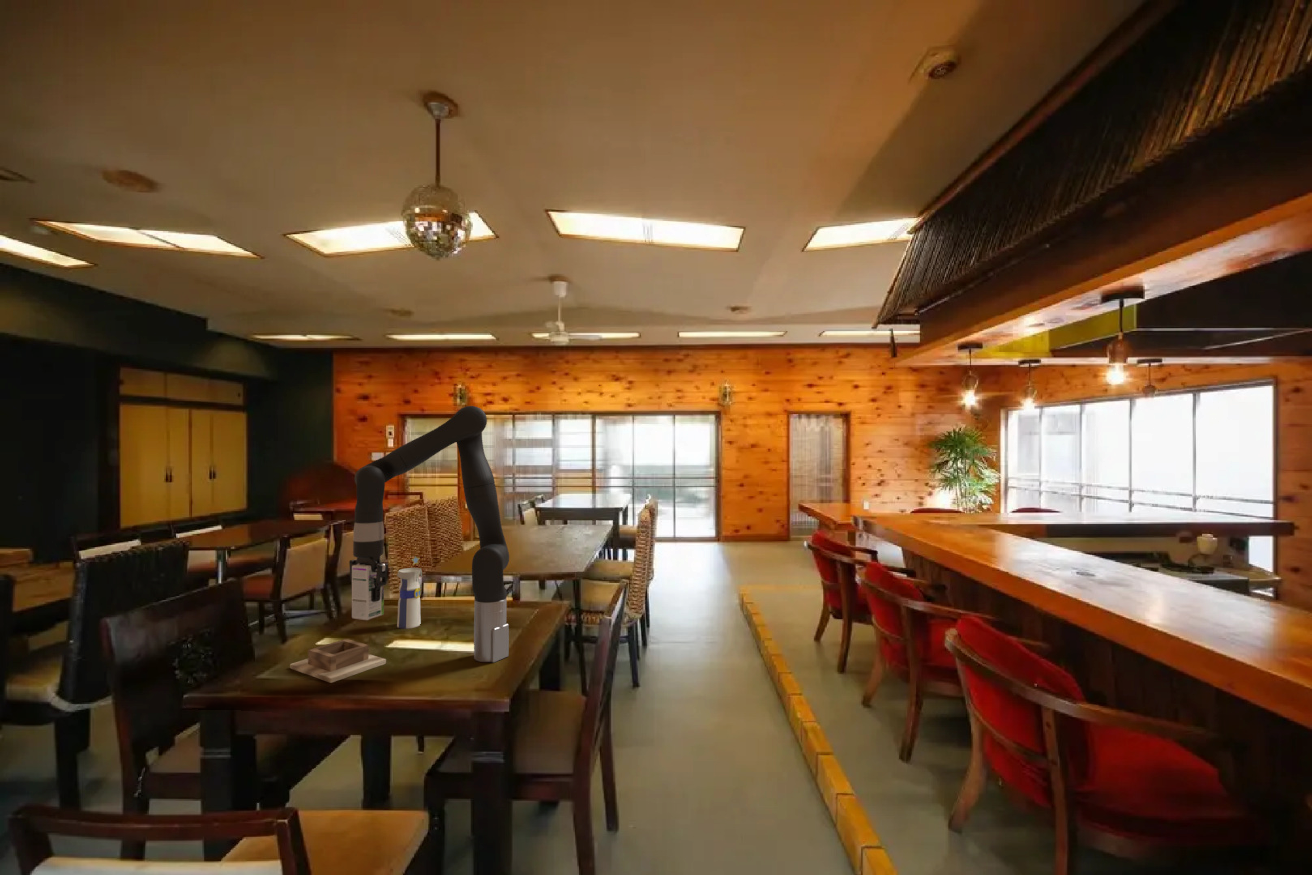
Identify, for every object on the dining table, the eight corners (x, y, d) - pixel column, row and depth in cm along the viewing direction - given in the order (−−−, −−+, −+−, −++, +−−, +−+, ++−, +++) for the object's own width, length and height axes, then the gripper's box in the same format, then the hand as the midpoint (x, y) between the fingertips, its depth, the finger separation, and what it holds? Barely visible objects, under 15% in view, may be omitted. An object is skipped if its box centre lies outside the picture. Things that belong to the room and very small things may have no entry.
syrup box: (367, 620, 153) (368, 566, 153) (350, 618, 155) (351, 564, 155) (384, 614, 158) (385, 562, 158) (367, 612, 160) (368, 560, 160)
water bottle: (427, 622, 204) (428, 552, 205) (412, 629, 196) (413, 556, 197) (407, 620, 206) (408, 551, 207) (391, 627, 198) (392, 555, 198)
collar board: (386, 663, 165) (386, 645, 165) (330, 682, 151) (331, 663, 151) (345, 651, 175) (345, 634, 175) (290, 668, 161) (290, 649, 161)
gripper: (397, 538, 157) (396, 599, 156) (365, 534, 164) (364, 593, 163) (372, 542, 150) (371, 606, 150) (340, 538, 157) (339, 599, 157)
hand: (367, 599), depth 156 cm, fingers closed on syrup box, 6 cm apart
